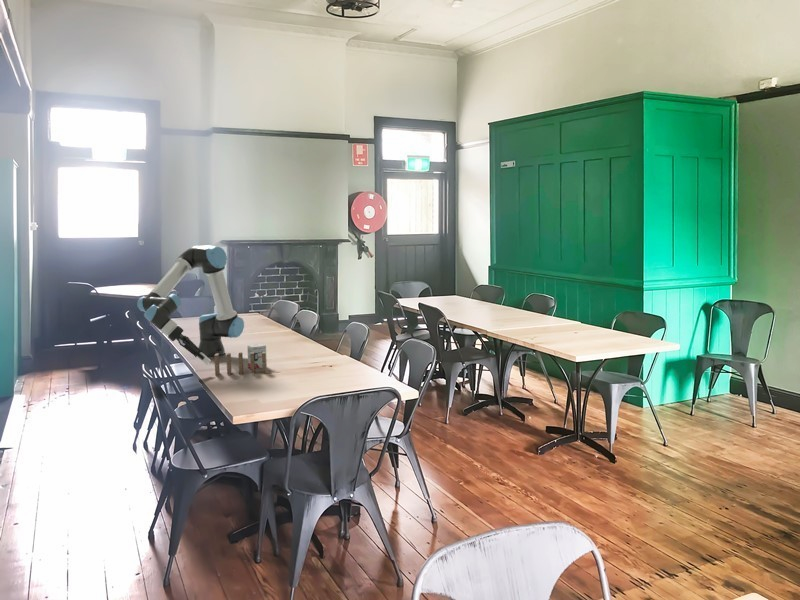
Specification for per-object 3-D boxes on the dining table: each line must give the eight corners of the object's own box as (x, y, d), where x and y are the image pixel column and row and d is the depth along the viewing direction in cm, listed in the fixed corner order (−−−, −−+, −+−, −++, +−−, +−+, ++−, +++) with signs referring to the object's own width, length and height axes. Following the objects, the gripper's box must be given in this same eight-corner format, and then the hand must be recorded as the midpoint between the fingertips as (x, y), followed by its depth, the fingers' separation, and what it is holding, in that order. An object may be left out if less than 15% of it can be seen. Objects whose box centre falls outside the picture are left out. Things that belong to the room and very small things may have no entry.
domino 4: (263, 371, 346) (262, 351, 345) (266, 370, 346) (265, 351, 345) (262, 373, 341) (261, 353, 340) (266, 373, 342) (265, 353, 340)
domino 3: (251, 371, 345) (250, 352, 344) (254, 371, 346) (254, 351, 344) (250, 373, 340) (250, 354, 339) (254, 373, 341) (253, 353, 339)
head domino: (216, 373, 343) (215, 353, 341) (219, 372, 343) (218, 353, 342) (215, 375, 338) (214, 355, 337) (218, 375, 338) (217, 355, 337)
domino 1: (228, 372, 344) (227, 353, 342) (231, 372, 344) (230, 352, 343) (227, 374, 339) (226, 355, 337) (230, 374, 339) (229, 354, 338)
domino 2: (239, 372, 344) (239, 352, 343) (243, 371, 345) (242, 352, 343) (239, 374, 340) (238, 354, 338) (242, 374, 340) (241, 354, 339)
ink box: (251, 369, 350) (250, 347, 348) (247, 368, 353) (246, 345, 352) (267, 367, 355) (266, 345, 353) (263, 365, 359) (262, 343, 357)
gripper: (169, 334, 341) (205, 365, 345) (164, 338, 328) (202, 371, 332) (179, 323, 341) (215, 354, 345) (175, 327, 328) (212, 360, 333)
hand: (208, 362), depth 339 cm, fingers closed
